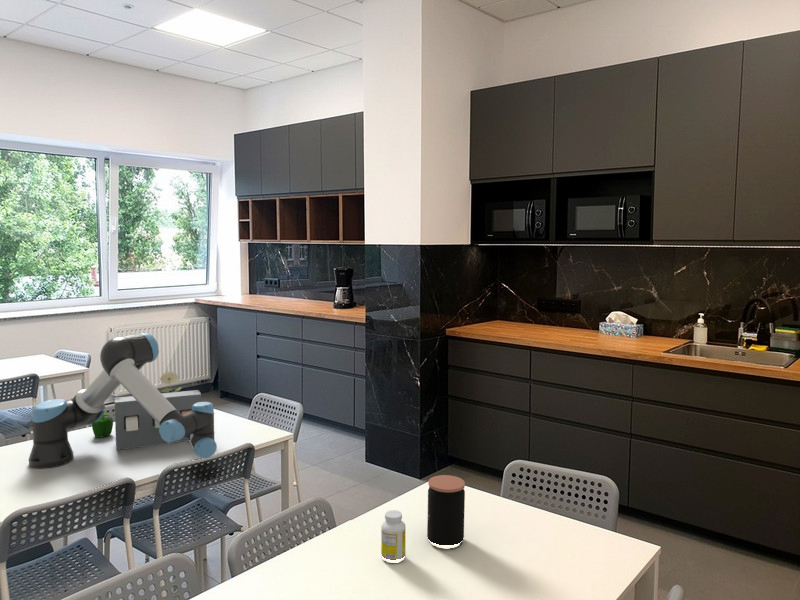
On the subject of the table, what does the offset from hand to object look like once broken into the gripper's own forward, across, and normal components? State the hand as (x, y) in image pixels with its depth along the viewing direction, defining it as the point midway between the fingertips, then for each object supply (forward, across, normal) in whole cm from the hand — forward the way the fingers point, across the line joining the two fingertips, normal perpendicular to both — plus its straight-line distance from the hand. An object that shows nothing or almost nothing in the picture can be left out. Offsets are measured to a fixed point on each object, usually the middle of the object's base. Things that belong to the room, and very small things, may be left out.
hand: (190, 421), depth 249 cm
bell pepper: (+33, -33, -11) cm, 48 cm away
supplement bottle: (-116, +36, -12) cm, 123 cm away
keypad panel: (+14, -11, -11) cm, 21 cm away
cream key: (+9, -22, -3) cm, 24 cm away
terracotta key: (+12, 0, -3) cm, 12 cm away
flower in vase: (+39, -2, -11) cm, 41 cm away
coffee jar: (-115, +54, -13) cm, 127 cm away
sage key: (+9, -11, -3) cm, 14 cm away
